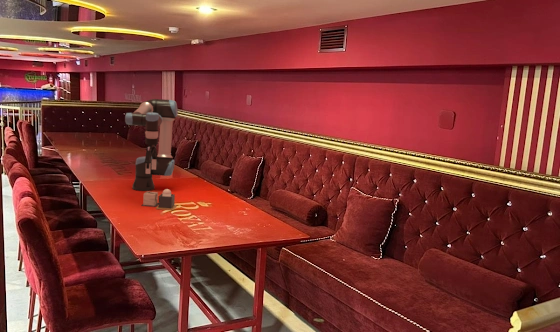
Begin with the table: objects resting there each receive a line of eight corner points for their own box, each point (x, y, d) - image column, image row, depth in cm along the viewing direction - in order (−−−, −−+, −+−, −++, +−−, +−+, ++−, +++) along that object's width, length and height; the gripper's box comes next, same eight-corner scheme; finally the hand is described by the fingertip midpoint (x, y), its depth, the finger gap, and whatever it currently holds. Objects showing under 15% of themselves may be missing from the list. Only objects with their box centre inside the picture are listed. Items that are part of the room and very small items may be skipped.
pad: (145, 202, 299) (145, 201, 299) (159, 203, 299) (159, 202, 299) (141, 205, 290) (141, 205, 290) (155, 206, 290) (155, 206, 290)
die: (146, 202, 298) (146, 191, 296) (157, 203, 298) (157, 192, 296) (143, 204, 291) (143, 193, 290) (154, 205, 291) (154, 194, 290)
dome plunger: (163, 203, 292) (163, 187, 291) (171, 203, 292) (172, 188, 291) (161, 205, 287) (161, 189, 286) (169, 205, 287) (170, 190, 286)
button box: (160, 205, 295) (160, 193, 294) (176, 206, 295) (176, 194, 294) (156, 209, 285) (156, 196, 284) (172, 210, 285) (173, 197, 284)
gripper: (151, 134, 302) (150, 167, 306) (139, 140, 278) (139, 175, 282) (162, 135, 302) (161, 168, 306) (152, 140, 278) (151, 176, 282)
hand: (150, 171), depth 294 cm, fingers open, 13 cm apart
